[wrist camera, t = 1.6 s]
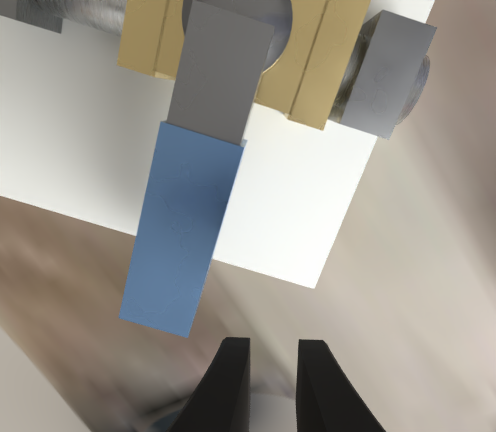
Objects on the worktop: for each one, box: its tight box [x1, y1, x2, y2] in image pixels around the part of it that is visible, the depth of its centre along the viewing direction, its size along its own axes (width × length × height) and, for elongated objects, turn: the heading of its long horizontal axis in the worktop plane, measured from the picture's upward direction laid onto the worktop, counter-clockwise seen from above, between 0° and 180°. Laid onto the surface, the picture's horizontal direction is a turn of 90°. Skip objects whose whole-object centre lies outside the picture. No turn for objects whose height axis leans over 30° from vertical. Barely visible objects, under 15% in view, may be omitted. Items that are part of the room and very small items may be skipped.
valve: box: [0, 0, 437, 140], centre depth 14 cm, size 18×5×4 cm, turn 73°
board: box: [0, 0, 435, 289], centre depth 16 cm, size 18×19×1 cm
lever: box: [119, 0, 293, 338], centre depth 12 cm, size 13×3×2 cm, turn 163°
